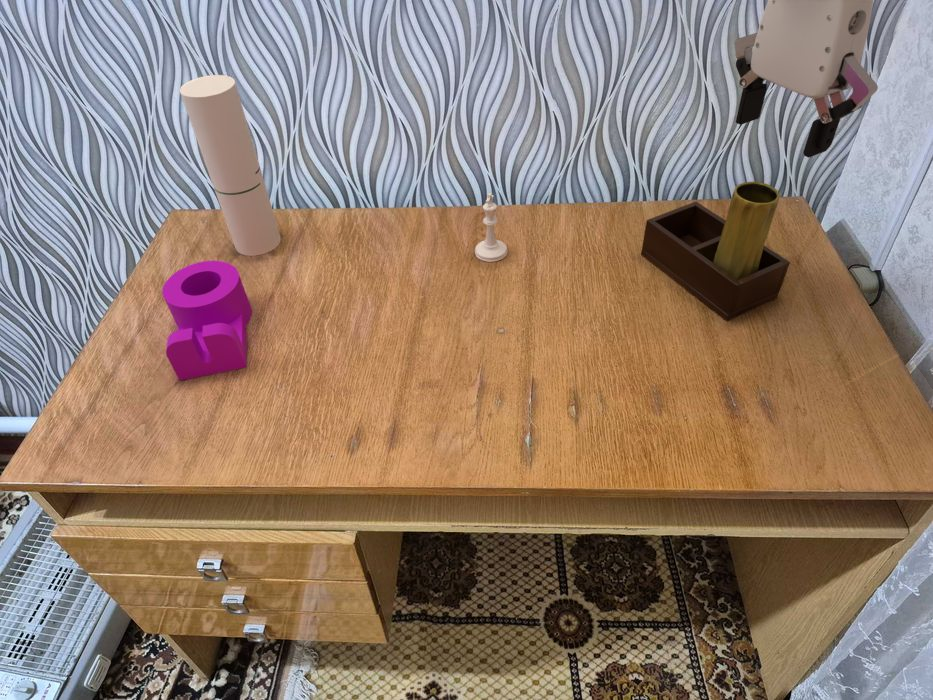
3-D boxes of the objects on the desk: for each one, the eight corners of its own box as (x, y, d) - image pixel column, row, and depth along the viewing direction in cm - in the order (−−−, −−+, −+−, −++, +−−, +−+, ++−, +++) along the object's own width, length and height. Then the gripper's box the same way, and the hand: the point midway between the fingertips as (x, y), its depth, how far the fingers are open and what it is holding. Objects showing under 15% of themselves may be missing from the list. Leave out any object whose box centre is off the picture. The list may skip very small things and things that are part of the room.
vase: (743, 305, 87) (773, 211, 77) (699, 288, 90) (722, 196, 80) (760, 280, 90) (791, 188, 80) (717, 265, 93) (741, 174, 83)
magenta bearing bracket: (181, 303, 95) (165, 268, 90) (251, 290, 96) (239, 255, 92) (173, 381, 83) (154, 346, 79) (252, 366, 85) (238, 330, 80)
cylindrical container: (286, 230, 107) (242, 74, 90) (272, 256, 102) (223, 97, 84) (244, 229, 108) (192, 75, 90) (228, 255, 103) (170, 97, 85)
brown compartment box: (688, 235, 101) (696, 201, 96) (777, 298, 89) (790, 262, 85) (640, 254, 98) (646, 219, 94) (726, 321, 86) (737, 285, 82)
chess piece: (469, 257, 99) (465, 199, 92) (483, 239, 102) (481, 182, 95) (498, 265, 97) (497, 206, 90) (512, 247, 101) (512, 189, 94)
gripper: (940, -22, 58) (869, 157, 70) (784, -58, 70) (746, 102, 81) (881, -6, 56) (819, 177, 68) (730, -45, 67) (699, 118, 79)
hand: (779, 136), depth 74 cm, fingers open, 9 cm apart
